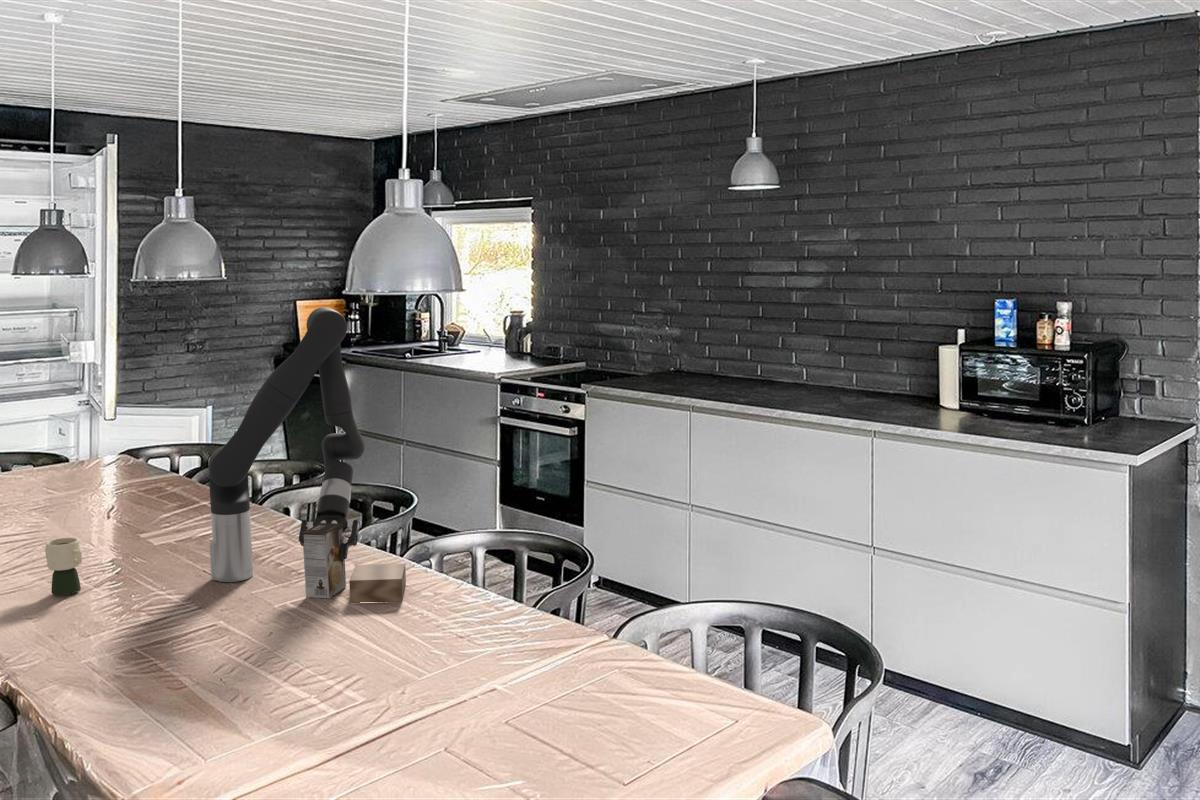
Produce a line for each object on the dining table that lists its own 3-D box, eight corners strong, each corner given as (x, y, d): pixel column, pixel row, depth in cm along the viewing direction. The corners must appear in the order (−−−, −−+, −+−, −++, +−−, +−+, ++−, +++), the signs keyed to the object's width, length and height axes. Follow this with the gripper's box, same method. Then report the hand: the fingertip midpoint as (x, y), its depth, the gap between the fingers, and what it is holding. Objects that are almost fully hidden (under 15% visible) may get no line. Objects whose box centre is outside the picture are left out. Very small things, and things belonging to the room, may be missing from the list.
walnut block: (350, 605, 243) (349, 580, 242) (356, 588, 255) (355, 565, 254) (402, 603, 244) (401, 578, 243) (405, 587, 256) (405, 563, 255)
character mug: (95, 591, 251) (92, 539, 249) (71, 600, 245) (67, 547, 243) (61, 586, 255) (57, 535, 253) (36, 595, 248) (32, 542, 247)
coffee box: (322, 585, 256) (319, 521, 254) (346, 586, 255) (344, 523, 253) (304, 597, 247) (301, 531, 245) (329, 599, 246) (326, 533, 244)
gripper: (302, 493, 256) (291, 552, 246) (360, 493, 256) (352, 552, 247) (308, 509, 262) (298, 567, 252) (365, 508, 263) (357, 567, 253)
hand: (325, 559), depth 250 cm, fingers closed on coffee box, 7 cm apart
